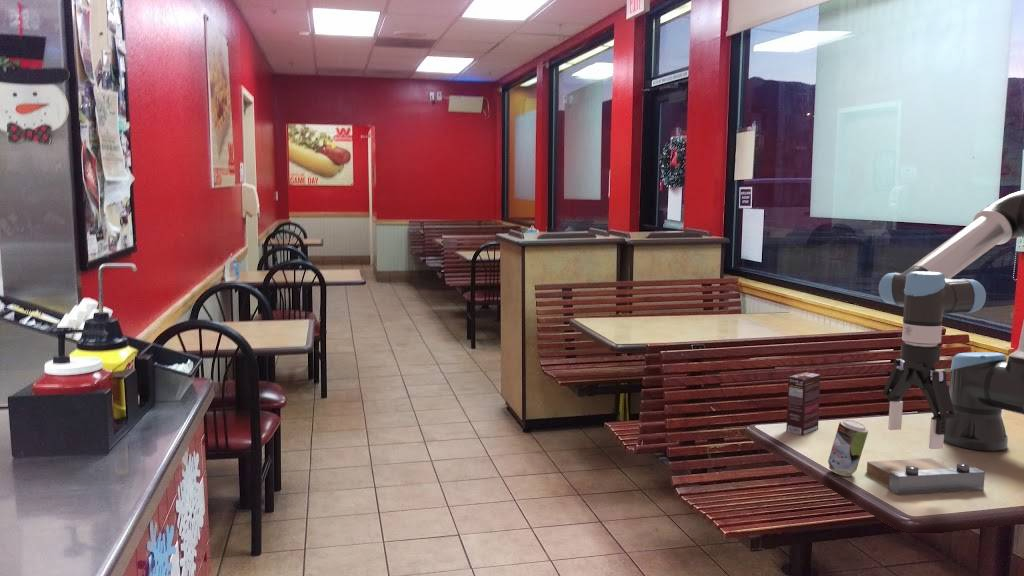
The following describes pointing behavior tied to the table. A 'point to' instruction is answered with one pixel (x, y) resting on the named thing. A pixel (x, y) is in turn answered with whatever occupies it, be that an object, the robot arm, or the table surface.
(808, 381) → the supplement box
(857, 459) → the beverage can
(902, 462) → the brown wooden board
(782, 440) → the table surface
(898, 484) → the stop bar
